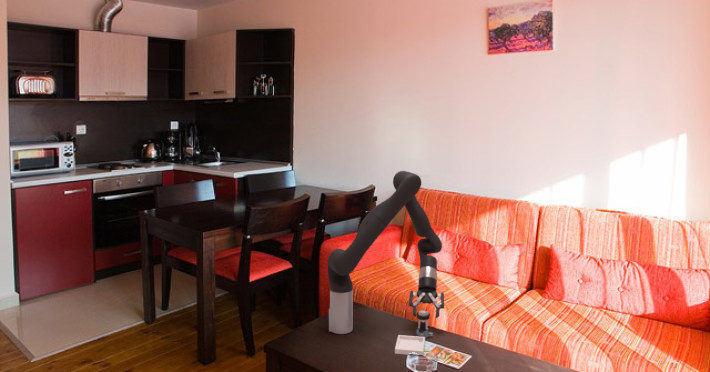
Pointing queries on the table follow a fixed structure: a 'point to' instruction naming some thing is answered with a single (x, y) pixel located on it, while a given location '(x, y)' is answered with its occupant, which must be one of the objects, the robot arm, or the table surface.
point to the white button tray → (410, 345)
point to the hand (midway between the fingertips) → (425, 316)
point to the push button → (423, 323)
